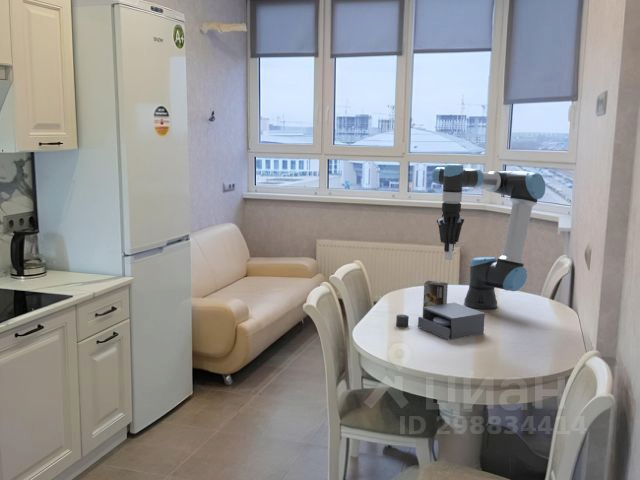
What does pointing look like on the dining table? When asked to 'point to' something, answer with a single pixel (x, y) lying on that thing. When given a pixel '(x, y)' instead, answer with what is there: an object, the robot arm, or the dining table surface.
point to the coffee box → (435, 293)
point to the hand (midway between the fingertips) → (448, 259)
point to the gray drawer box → (458, 319)
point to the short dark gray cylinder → (402, 320)
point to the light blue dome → (442, 321)
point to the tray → (434, 327)
